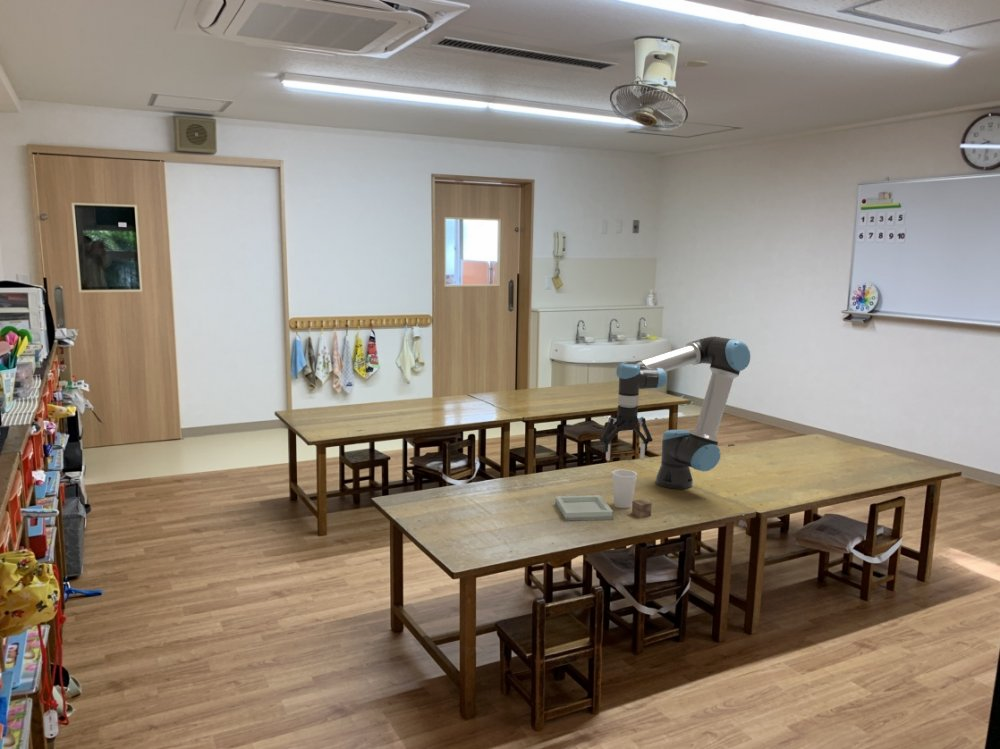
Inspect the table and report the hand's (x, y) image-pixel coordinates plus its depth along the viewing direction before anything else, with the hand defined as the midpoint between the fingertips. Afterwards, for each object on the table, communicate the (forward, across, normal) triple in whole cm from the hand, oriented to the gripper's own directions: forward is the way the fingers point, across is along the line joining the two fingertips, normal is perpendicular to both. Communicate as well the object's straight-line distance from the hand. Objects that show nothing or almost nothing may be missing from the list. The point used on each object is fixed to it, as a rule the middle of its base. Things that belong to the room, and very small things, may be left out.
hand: (624, 459), depth 283 cm
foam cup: (+19, 0, 0) cm, 19 cm away
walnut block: (+18, -4, +10) cm, 21 cm away
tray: (+18, +17, +5) cm, 25 cm away
